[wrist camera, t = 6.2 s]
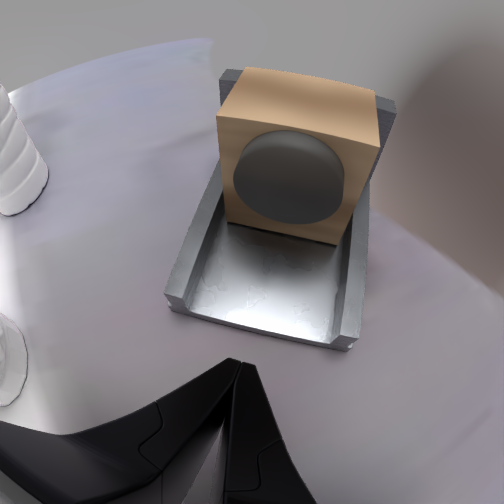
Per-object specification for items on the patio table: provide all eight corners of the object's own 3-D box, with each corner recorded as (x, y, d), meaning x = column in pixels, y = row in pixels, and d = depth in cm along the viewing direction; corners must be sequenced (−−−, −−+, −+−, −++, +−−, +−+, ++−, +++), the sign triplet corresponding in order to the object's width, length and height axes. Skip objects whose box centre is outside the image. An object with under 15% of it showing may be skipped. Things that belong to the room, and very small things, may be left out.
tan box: (335, 262, 18) (381, 166, 11) (220, 237, 19) (206, 132, 12) (343, 185, 21) (374, 90, 14) (246, 165, 22) (246, 66, 15)
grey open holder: (346, 351, 16) (411, 303, 9) (171, 310, 18) (124, 239, 11) (362, 184, 23) (394, 101, 16) (231, 157, 24) (226, 68, 17)
